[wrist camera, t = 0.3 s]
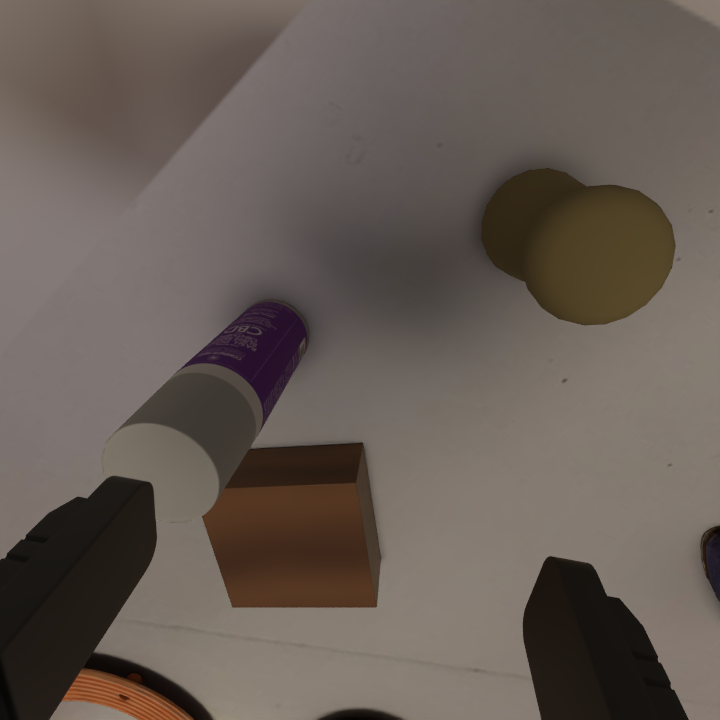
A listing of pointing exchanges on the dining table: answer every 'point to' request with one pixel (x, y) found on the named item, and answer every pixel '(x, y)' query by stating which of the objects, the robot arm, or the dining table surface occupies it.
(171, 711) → the ring
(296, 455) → the walnut block
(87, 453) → the dining table surface
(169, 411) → the container
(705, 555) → the flask
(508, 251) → the olive pawn
